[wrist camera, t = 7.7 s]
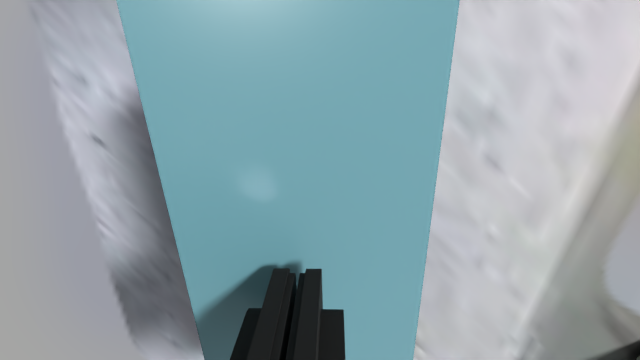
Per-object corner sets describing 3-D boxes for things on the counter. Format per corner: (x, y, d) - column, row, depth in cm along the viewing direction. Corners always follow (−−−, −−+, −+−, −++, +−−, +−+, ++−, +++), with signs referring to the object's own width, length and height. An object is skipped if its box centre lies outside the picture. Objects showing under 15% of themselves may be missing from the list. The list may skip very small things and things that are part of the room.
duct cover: (108, -50, 7) (101, -62, 6) (444, -21, 11) (462, -27, 10) (230, 457, 15) (233, 476, 14) (401, 371, 18) (409, 383, 18)
